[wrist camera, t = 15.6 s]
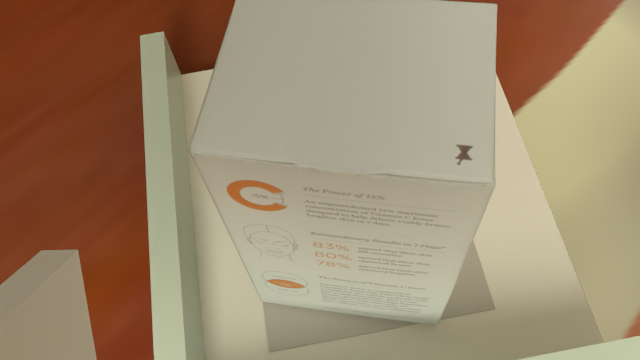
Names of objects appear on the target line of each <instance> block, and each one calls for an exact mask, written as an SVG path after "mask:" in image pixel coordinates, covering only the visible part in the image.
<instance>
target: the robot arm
mask: <svg viewBox="0 0 640 360" xmlns="http://www.w3.org/2000/svg"><path fill="white" fill-rule="evenodd" d="M0 360H97V359H96V354H95V348H94V342H93V336H92V330H91V324H90V318H89V312H88V307H87V301H86V295H85V289H84V283H83V277H82V271H81V265H80V260H79V254H78V250H44V251H40V252H39V253H38V254H37V255H35V256H34V257H33V258H32V259H31V260H30V261H28V262H27V263H26V264H25V265H24V266H22V267H21V268H20V269H19V270H18V271H16V272H15V273H14V274H13V275H12V276H11V277H9V278H8V279H7V280H6V281H5V282H3V283H2V284H1V285H0Z"/></svg>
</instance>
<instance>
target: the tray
mask: <svg viewBox="0 0 640 360" xmlns="http://www.w3.org/2000/svg"><path fill="white" fill-rule="evenodd" d="M140 49H141V72H142V95H143V118H144V140H145V163H146V186H147V209H148V232H149V254H150V277H151V300H152V323H153V346H154V360H640V336H636V337H631V338H626V339H621V340H616V341H611V342H606V343H604V342H603V340H602V337H601V335H600V332H599V330H598V327H597V325H596V322H595V320H594V317H593V315H592V312H591V309H590V307H589V305H588V302H587V299H586V297H585V295H584V292H583V290H582V287H581V284H580V282H579V280H578V277H577V274H576V272H575V270H574V267H573V265H572V262H571V259H570V257H569V255H568V252H567V249H566V247H565V245H564V242H563V239H562V237H561V235H560V232H559V229H558V227H557V225H556V222H555V219H554V217H553V215H552V212H551V210H550V207H549V205H548V202H547V200H546V197H545V195H544V192H543V189H542V187H541V184H540V182H539V179H538V177H537V174H536V172H535V170H534V167H533V164H532V162H531V159H530V157H529V155H528V152H527V150H526V147H525V144H524V142H523V140H522V137H521V135H520V132H519V129H518V127H517V124H516V122H515V119H514V117H513V114H512V112H511V109H510V107H509V104H508V102H507V99H506V97H505V94H504V92H503V89H502V87H501V84H500V82H499V79H498V77H497V74H496V91H495V180H496V186H495V188H494V191H493V193H492V195H491V198H490V200H489V203H488V205H487V208H486V210H485V212H484V215H483V217H482V220H481V222H480V225H479V227H478V229H477V232H476V234H475V237H474V239H473V241H472V244H471V246H470V249H469V251H468V254H467V256H466V259H465V261H464V264H463V266H462V269H461V271H460V274H459V277H458V279H457V282H456V284H455V287H454V289H453V292H452V294H451V296H450V298H449V301H448V303H447V305H446V307H445V309H444V312H443V314H442V316H441V319H440V321H439V323H438V325H430V324H422V323H414V322H405V321H397V320H390V319H382V318H375V317H368V316H360V315H353V314H346V313H338V312H331V311H323V310H316V309H309V308H302V307H295V306H288V305H281V304H274V303H267V302H262V301H261V299H260V297H259V295H258V293H257V291H256V289H255V287H254V285H253V283H252V281H251V279H250V277H249V275H248V273H247V271H246V269H245V267H244V265H243V263H242V261H241V259H240V257H239V255H238V252H237V250H236V248H235V245H234V243H233V241H232V239H231V237H230V235H229V234H228V231H227V229H226V227H225V225H224V223H223V221H222V219H221V217H220V215H219V213H218V211H217V209H216V206H215V204H214V202H213V200H212V198H211V196H210V194H209V192H208V190H207V188H206V185H205V183H204V182H203V180H202V178H201V175H200V173H199V171H198V169H197V167H196V165H195V163H194V162H193V160H192V158H191V156H190V154H189V152H188V146H189V143H190V140H191V137H192V134H193V131H194V128H195V125H196V122H197V119H198V116H199V113H200V110H201V107H202V104H203V101H204V98H205V95H206V91H207V88H208V85H209V82H210V79H211V76H212V73H213V70H214V69H211V70H205V71H200V72H194V73H188V74H183V75H181V73H180V70H179V68H178V65H177V63H176V61H175V58H174V56H173V53H172V51H171V48H170V46H169V44H168V41H167V39H166V36H165V34H164V31H163V32H157V33H151V34H145V35H140Z"/></svg>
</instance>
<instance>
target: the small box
mask: <svg viewBox="0 0 640 360" xmlns="http://www.w3.org/2000/svg"><path fill="white" fill-rule="evenodd" d="M496 31H497V4H495V3H482V2H465V1H452V0H236V1H235V4H234V7H233V10H232V14H231V17H230V20H229V23H228V26H227V29H226V32H225V35H224V39H223V42H222V45H221V48H220V51H219V54H218V57H217V60H216V63H215V66H214V70H213V73H212V76H211V79H210V82H209V85H208V88H207V91H206V95H205V98H204V101H203V104H202V107H201V110H200V113H199V116H198V119H197V122H196V125H195V128H194V131H193V134H192V137H191V140H190V143H189V146H188V152H189V154H190V156H191V158H192V160H193V162H194V163H195V165H196V167H197V169H198V171H199V173H200V175H201V178H202V180H203V182H204V183H205V185H206V188H207V190H208V192H209V194H210V196H211V198H212V200H213V202H214V204H215V206H216V209H217V211H218V213H219V215H220V217H221V219H222V221H223V223H224V225H225V227H226V229H227V231H228V234H229V235H230V237H231V239H232V241H233V243H234V245H235V248H236V250H237V252H238V255H239V257H240V259H241V261H242V263H243V265H244V267H245V269H246V271H247V273H248V275H249V277H250V279H251V281H252V283H253V285H254V287H255V289H256V291H257V293H258V295H259V297H260V299H261V301H262V302H267V303H274V304H281V305H288V306H295V307H302V308H309V309H316V310H323V311H331V312H338V313H346V314H353V315H360V316H368V317H375V318H382V319H390V320H397V321H405V322H414V323H422V324H430V325H438V323H439V321H440V319H441V316H442V314H443V312H444V309H445V307H446V305H447V303H448V301H449V298H450V296H451V294H452V292H453V289H454V287H455V284H456V282H457V279H458V277H459V274H460V271H461V269H462V266H463V264H464V261H465V259H466V256H467V254H468V251H469V249H470V246H471V244H472V241H473V239H474V237H475V234H476V232H477V229H478V227H479V225H480V222H481V220H482V217H483V215H484V212H485V210H486V208H487V205H488V203H489V200H490V198H491V195H492V193H493V191H494V188H495V186H496V180H495V91H496Z"/></svg>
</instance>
